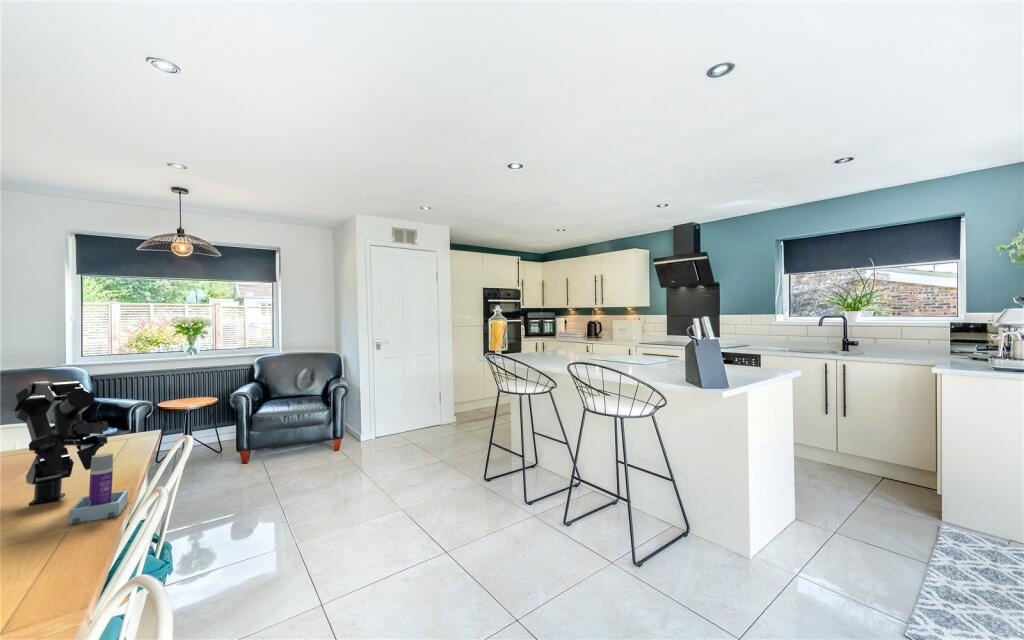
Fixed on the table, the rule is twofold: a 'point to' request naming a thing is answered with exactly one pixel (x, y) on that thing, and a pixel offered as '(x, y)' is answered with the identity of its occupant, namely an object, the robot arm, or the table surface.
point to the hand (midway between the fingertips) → (74, 470)
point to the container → (101, 479)
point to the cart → (98, 508)
